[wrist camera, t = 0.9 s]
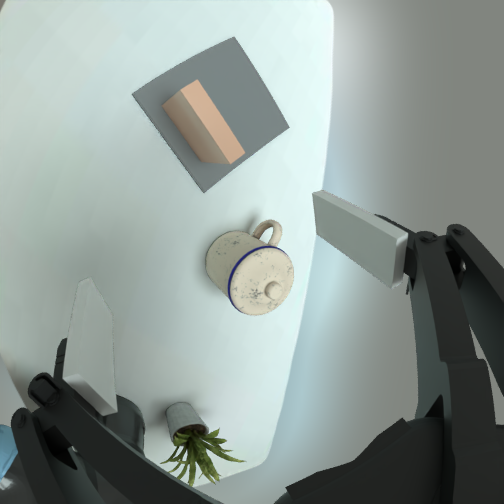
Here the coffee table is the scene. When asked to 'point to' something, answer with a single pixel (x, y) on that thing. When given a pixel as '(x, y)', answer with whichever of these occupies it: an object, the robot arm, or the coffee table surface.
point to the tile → (203, 125)
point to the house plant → (193, 442)
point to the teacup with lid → (251, 269)
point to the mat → (226, 101)
